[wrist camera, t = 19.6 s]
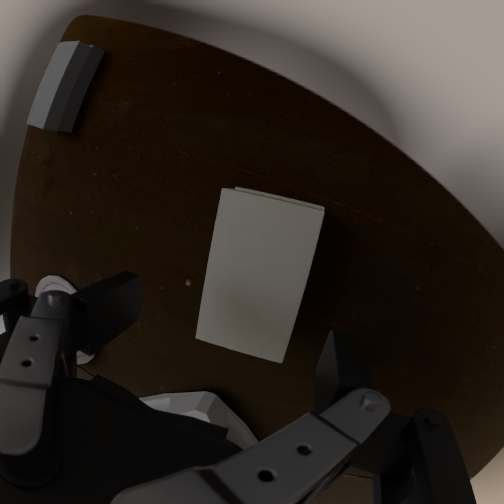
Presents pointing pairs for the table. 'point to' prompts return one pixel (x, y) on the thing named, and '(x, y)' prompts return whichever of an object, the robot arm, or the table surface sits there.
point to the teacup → (63, 285)
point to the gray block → (64, 86)
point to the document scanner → (205, 413)
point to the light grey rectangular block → (257, 272)
